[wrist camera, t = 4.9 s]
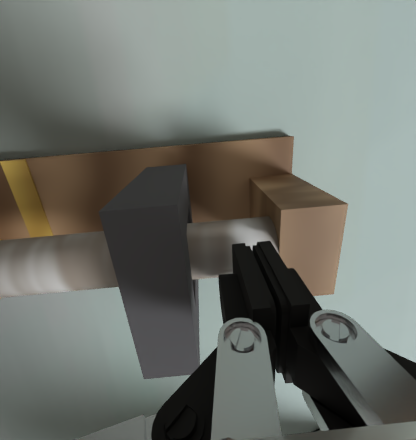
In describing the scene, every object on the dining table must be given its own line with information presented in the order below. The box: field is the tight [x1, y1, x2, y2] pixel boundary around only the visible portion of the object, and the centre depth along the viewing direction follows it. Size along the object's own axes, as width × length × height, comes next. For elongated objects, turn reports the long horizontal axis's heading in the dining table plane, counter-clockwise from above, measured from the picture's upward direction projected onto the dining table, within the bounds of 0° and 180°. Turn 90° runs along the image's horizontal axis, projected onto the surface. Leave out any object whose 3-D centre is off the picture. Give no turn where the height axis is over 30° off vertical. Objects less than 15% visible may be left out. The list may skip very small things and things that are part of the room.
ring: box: [99, 164, 200, 379], centre depth 13 cm, size 2×8×8 cm, turn 4°
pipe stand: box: [0, 136, 348, 298], centre depth 15 cm, size 27×10×8 cm, turn 94°
